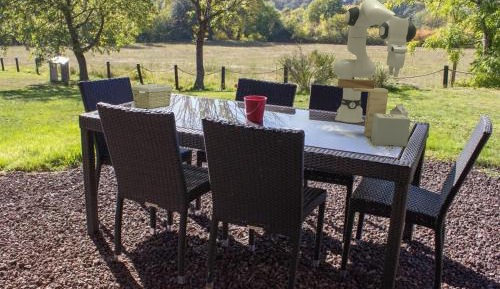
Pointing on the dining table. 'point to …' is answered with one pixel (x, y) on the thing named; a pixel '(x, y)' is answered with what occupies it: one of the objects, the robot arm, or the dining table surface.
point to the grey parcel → (390, 131)
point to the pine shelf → (374, 106)
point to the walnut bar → (356, 83)
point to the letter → (391, 116)
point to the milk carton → (399, 110)
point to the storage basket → (152, 95)
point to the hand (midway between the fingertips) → (393, 75)
